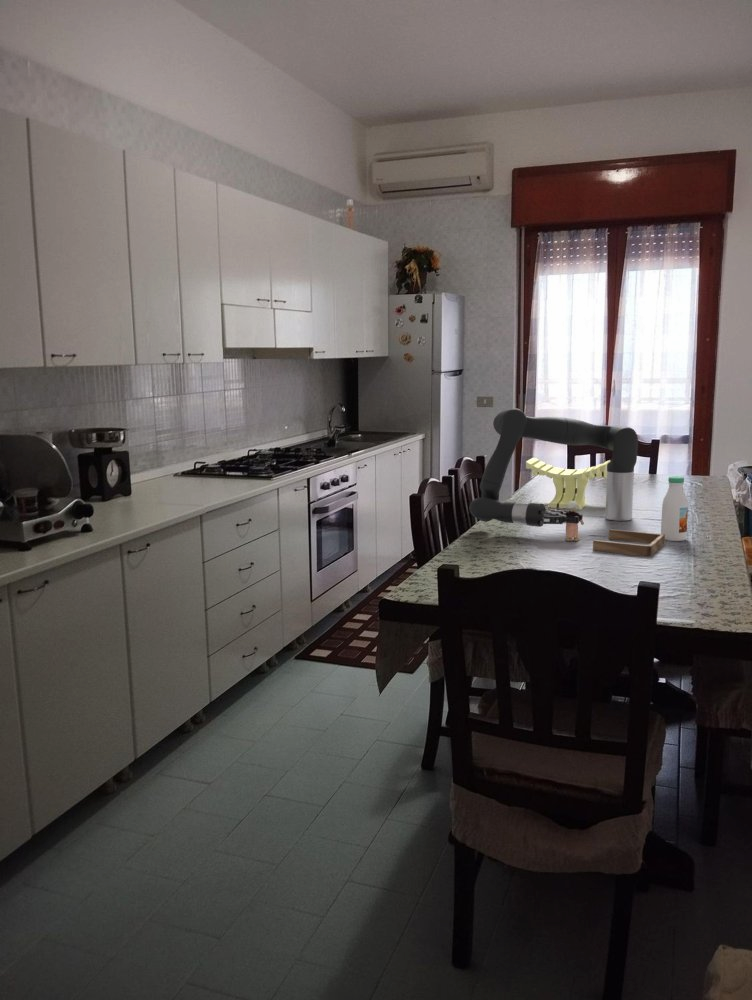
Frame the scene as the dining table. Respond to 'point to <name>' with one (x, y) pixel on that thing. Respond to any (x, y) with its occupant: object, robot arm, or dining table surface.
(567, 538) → the grandmother figurine
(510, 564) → the dining table surface
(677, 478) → the milk bottle
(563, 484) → the slatted curved stool
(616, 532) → the box
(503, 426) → the robot arm
